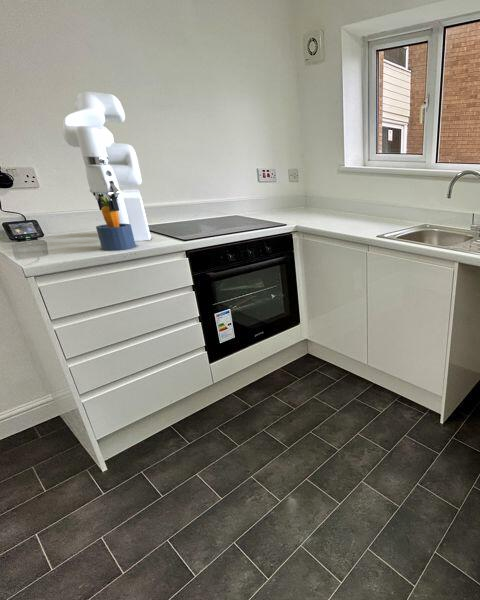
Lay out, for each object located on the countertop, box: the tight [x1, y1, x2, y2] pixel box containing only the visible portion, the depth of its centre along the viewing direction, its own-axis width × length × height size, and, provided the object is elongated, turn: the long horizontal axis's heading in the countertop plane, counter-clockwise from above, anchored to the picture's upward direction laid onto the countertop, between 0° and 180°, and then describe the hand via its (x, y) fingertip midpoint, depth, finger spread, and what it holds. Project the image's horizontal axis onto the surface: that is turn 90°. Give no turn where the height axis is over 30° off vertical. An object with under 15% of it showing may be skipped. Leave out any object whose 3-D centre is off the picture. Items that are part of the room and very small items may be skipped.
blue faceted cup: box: [95, 224, 137, 252], centre depth 144 cm, size 11×11×9 cm
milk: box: [122, 189, 152, 242], centre depth 157 cm, size 6×6×22 cm
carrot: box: [100, 197, 119, 228], centre depth 141 cm, size 5×5×15 cm
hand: (109, 210), depth 141 cm, fingers closed on carrot, 4 cm apart
